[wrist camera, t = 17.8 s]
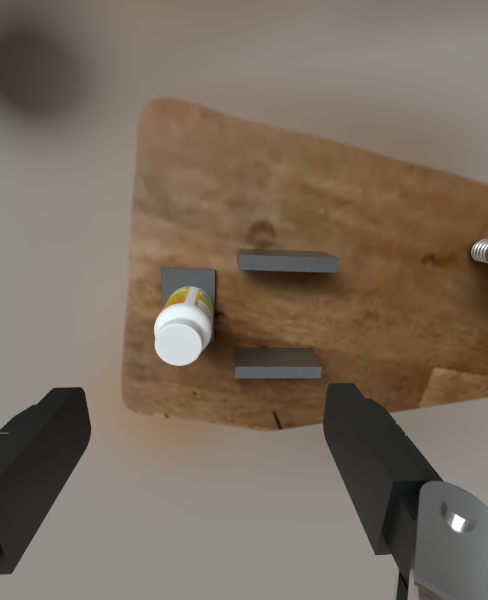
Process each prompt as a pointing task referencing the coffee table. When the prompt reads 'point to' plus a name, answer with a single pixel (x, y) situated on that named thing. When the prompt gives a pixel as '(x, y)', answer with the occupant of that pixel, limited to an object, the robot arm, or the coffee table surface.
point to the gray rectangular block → (188, 283)
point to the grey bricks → (280, 359)
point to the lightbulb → (480, 251)
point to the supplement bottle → (184, 326)
